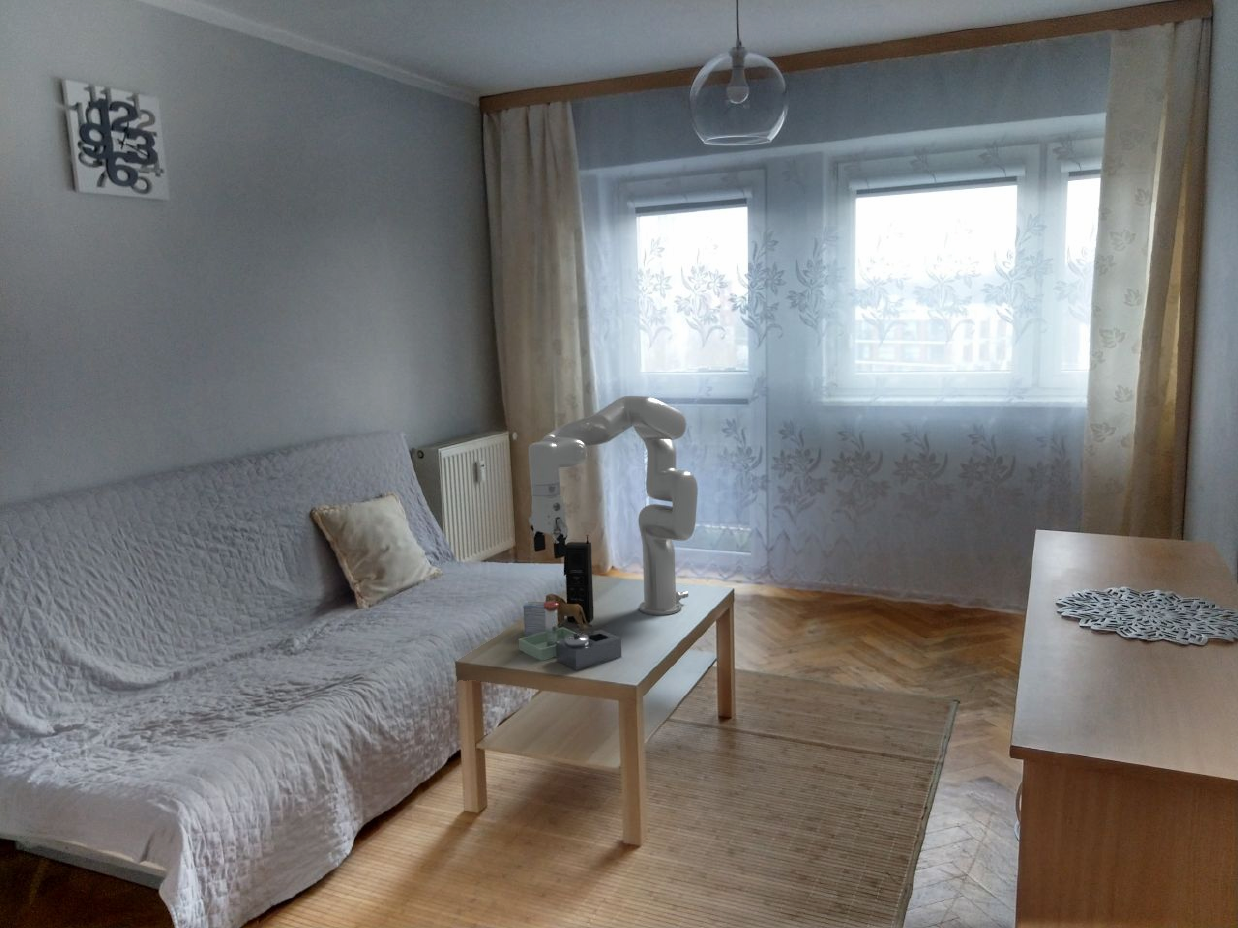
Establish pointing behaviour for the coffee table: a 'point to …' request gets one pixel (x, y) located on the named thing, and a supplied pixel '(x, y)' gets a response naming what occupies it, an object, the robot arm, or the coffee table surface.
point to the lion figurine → (568, 611)
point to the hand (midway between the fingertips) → (550, 553)
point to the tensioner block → (588, 649)
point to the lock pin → (551, 622)
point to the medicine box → (534, 618)
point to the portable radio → (579, 578)
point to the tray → (541, 644)
